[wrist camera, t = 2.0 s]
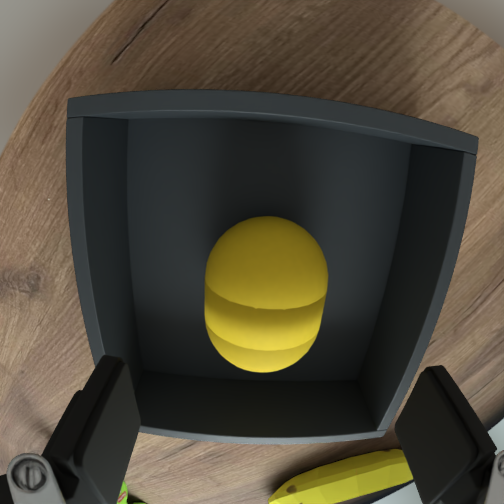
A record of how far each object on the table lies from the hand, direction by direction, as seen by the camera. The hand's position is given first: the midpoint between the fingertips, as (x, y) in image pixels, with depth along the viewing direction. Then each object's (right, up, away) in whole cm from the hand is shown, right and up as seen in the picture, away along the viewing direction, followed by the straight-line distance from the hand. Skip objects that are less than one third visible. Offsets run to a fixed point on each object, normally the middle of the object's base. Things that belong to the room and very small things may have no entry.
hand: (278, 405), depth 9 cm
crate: (0, +4, +9) cm, 10 cm away
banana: (+10, -21, +19) cm, 30 cm away
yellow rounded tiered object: (0, +4, +9) cm, 9 cm away
